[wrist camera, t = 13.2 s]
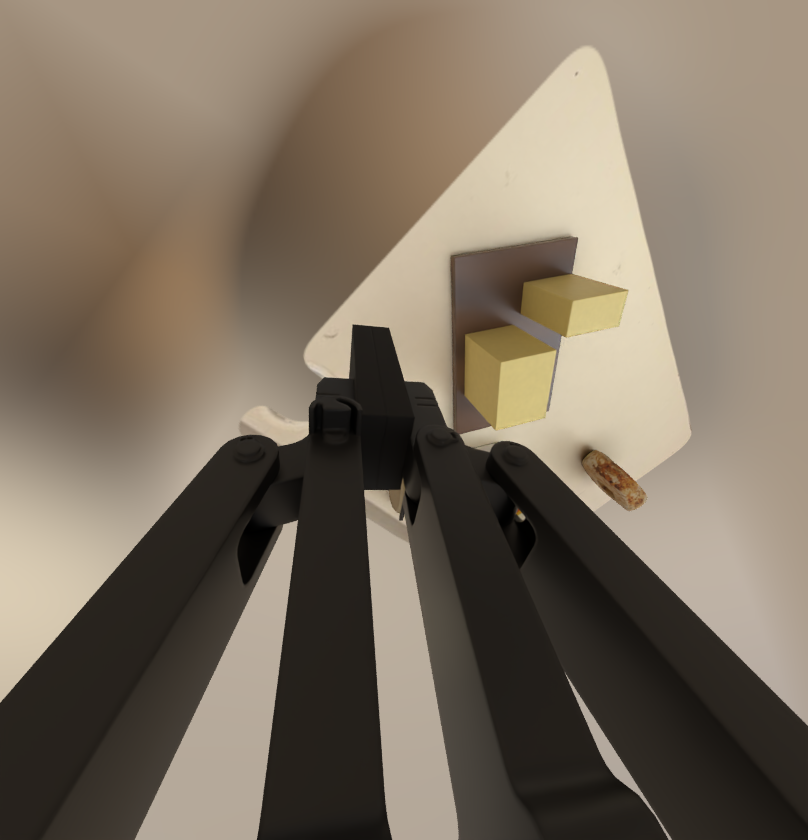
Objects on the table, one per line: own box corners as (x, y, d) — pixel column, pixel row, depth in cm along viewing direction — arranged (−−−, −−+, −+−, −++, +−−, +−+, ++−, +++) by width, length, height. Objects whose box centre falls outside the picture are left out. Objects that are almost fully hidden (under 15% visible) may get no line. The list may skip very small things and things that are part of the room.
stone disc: (571, 452, 57) (618, 495, 49) (590, 438, 57) (641, 479, 49) (589, 482, 63) (634, 524, 55) (606, 469, 63) (654, 510, 55)
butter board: (450, 256, 35) (454, 257, 34) (572, 236, 38) (578, 237, 37) (453, 431, 48) (456, 435, 47) (544, 407, 50) (548, 411, 49)
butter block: (464, 334, 39) (500, 362, 33) (513, 324, 40) (556, 349, 34) (464, 395, 44) (495, 430, 37) (507, 385, 45) (545, 417, 38)
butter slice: (523, 282, 38) (572, 300, 31) (571, 273, 39) (629, 289, 32) (520, 314, 40) (565, 338, 33) (566, 305, 41) (619, 326, 34)
